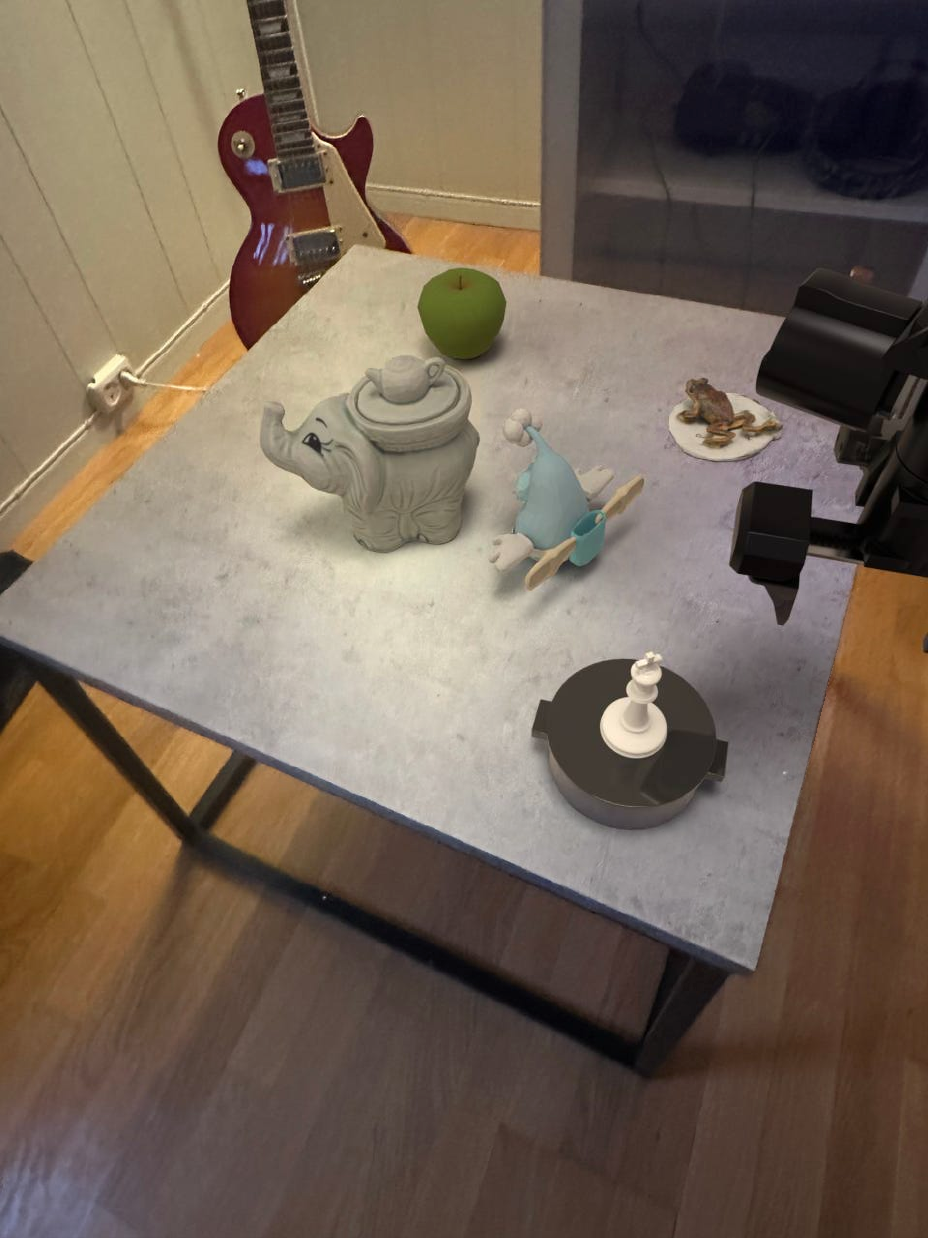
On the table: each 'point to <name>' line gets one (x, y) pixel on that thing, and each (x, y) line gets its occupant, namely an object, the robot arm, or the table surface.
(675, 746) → the pot
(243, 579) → the table surface
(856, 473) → the table surface
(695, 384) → the frog figurine
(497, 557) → the toy figure
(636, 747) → the chess piece
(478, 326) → the apple
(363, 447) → the teapot
